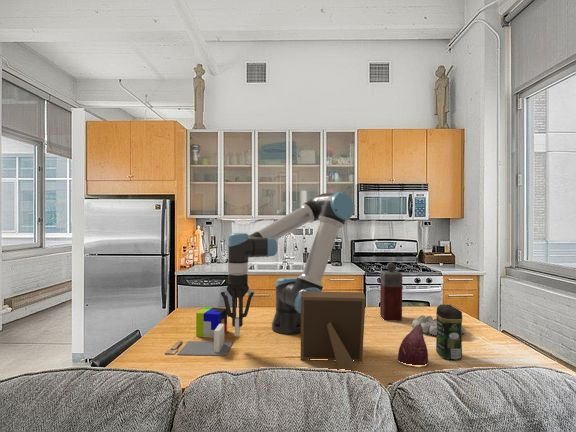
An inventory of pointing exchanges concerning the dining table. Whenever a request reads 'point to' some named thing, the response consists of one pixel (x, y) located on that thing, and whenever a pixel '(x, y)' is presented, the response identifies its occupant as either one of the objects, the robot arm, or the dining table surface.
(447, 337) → the coffee jar
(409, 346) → the vegetable
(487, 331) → the dining table surface
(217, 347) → the tile
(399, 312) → the dark red tall bottle
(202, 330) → the puzzle toy
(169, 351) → the wooden turner
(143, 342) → the dining table surface
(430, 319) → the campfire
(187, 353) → the mat
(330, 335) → the photo frame
